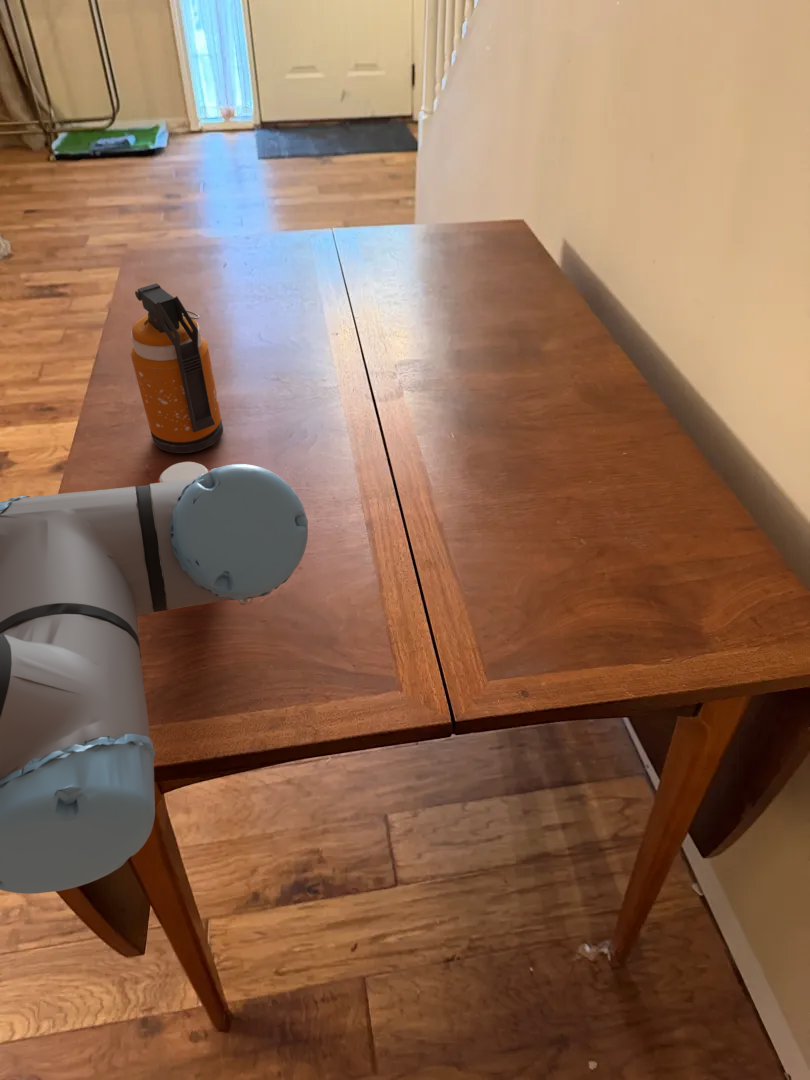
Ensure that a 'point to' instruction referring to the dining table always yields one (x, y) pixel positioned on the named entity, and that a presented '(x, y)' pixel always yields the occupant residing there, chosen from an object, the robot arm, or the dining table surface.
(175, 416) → the canister
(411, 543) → the dining table surface
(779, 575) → the dining table surface
